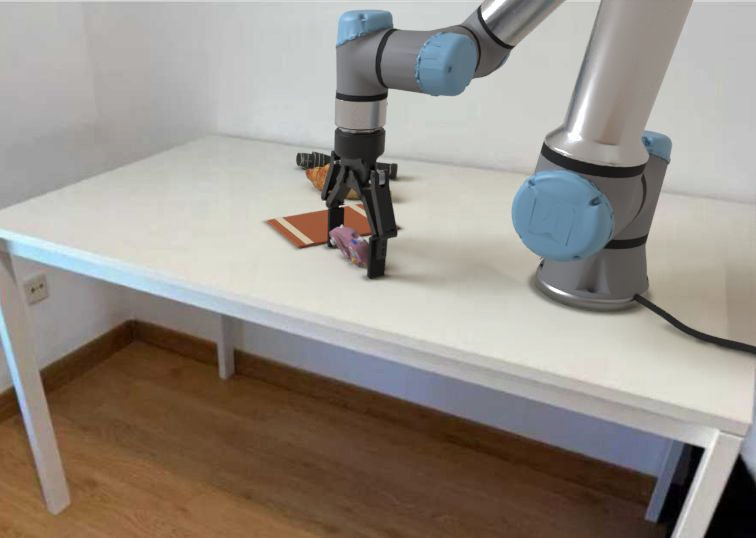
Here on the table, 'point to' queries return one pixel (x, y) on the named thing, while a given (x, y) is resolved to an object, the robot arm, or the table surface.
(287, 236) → the tea towel
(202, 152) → the table surface
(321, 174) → the croissant
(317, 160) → the twine-wrapped black handle
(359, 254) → the video game controller
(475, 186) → the table surface
